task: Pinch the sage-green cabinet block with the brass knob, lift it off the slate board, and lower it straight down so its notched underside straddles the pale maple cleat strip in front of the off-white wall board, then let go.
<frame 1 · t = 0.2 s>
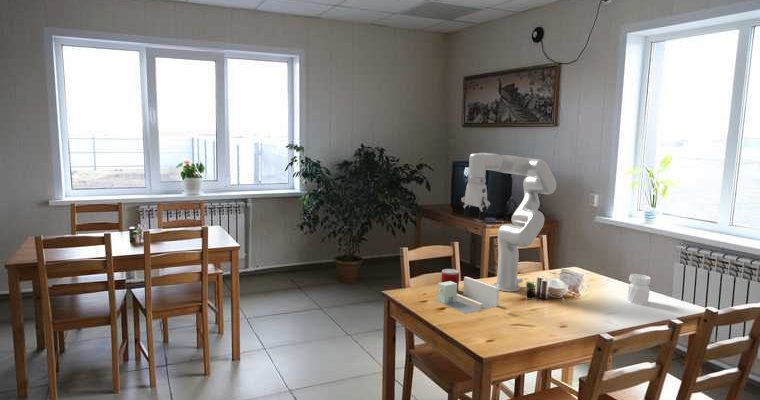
hand: (474, 218, 237), 36 cm above the table, tool pointing down, fingers open, 9 cm apart
white lidded jar: (637, 302, 241), on the table
cleat board: (465, 306, 227), on the table
cabinet block: (446, 301, 228), point 1 cm above the table, touching cleat board
canned food: (449, 294, 244), on the table
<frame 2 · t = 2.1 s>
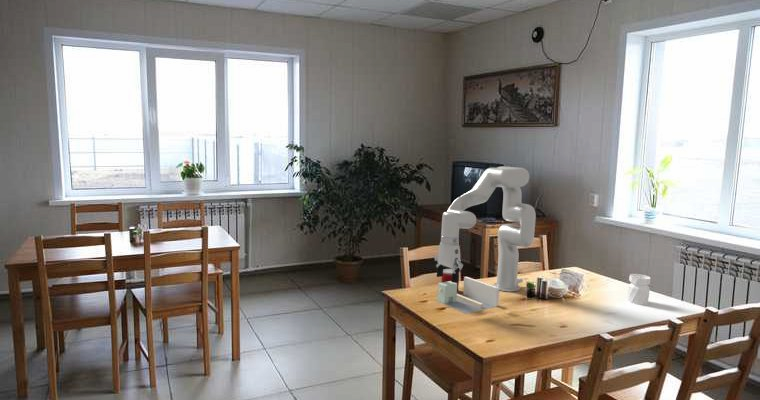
hand: (447, 279, 227), 11 cm above the table, tool pointing down, fingers open, 9 cm apart
nothing on the table moved.
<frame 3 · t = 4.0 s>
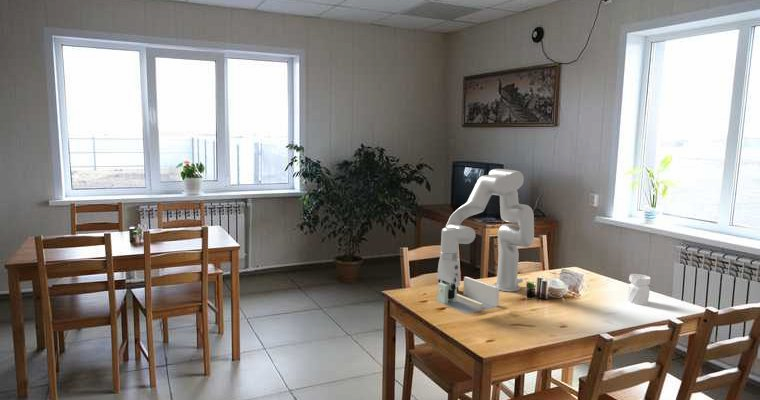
hand: (447, 296, 228), 4 cm above the table, tool pointing down, fingers closed on cabinet block, 4 cm apart
cabinet block: (446, 301, 228), point 2 cm above the table, touching cleat board, gripper
everything else where it was.
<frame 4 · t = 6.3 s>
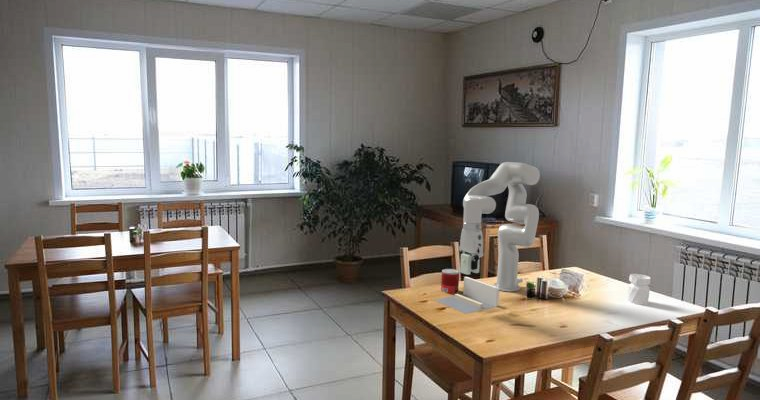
hand: (469, 267, 225), 17 cm above the table, tool pointing down, fingers closed on cabinet block, 4 cm apart
cabinet block: (469, 272, 226), point 15 cm above the table, touching gripper
everything else where it was.
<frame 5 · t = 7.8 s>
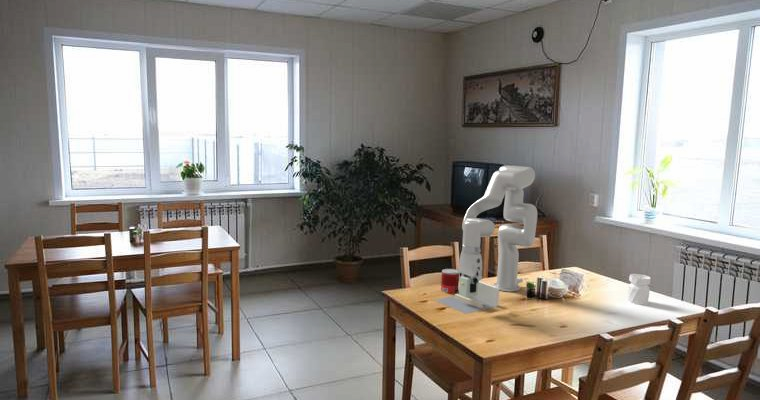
hand: (468, 290, 227), 7 cm above the table, tool pointing down, fingers closed on cabinet block, 4 cm apart
cabinet block: (468, 295, 227), point 5 cm above the table, touching gripper
everything else where it was.
when the fingers open (5 cm above the table, at t = 8.8 s): cabinet block stays where it is, resting on cleat board.
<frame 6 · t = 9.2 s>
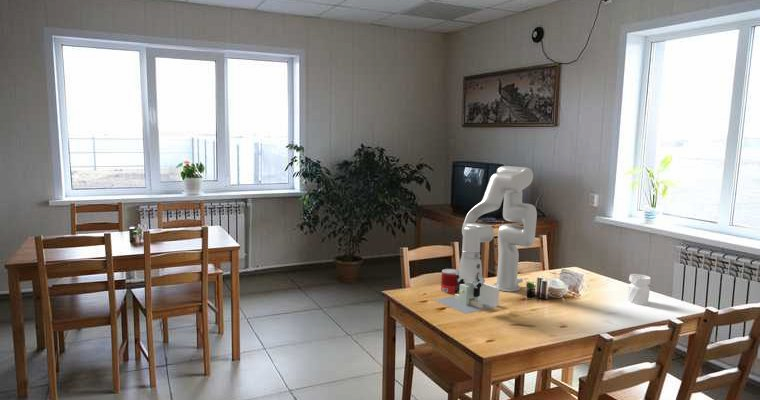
hand: (468, 293, 227), 5 cm above the table, tool pointing down, fingers open, 9 cm apart
cabinet block: (468, 302, 227), point 1 cm above the table, touching cleat board
everything else where it was.
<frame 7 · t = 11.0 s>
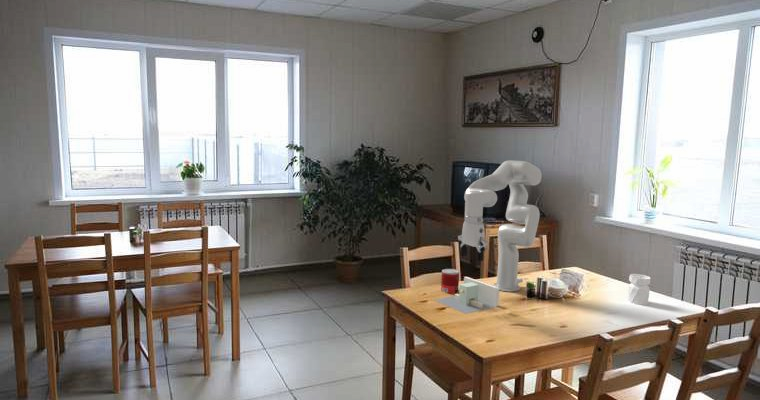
hand: (471, 258, 226), 21 cm above the table, tool pointing down, fingers open, 9 cm apart
nothing on the table moved.
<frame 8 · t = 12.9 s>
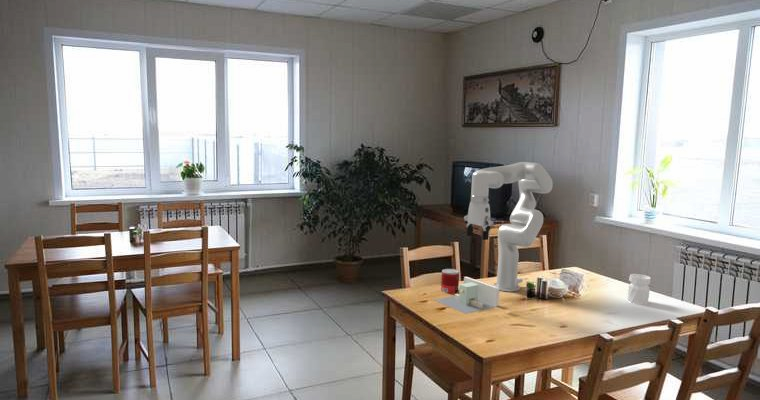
hand: (477, 237, 234), 28 cm above the table, tool pointing down, fingers open, 9 cm apart
nothing on the table moved.
at the end: cabinet block 0.0 cm from the target spot on the cleat board, point 1.5 cm above the cleat board's base; cabinet block tilted 0°; the gripper is holding nothing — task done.
